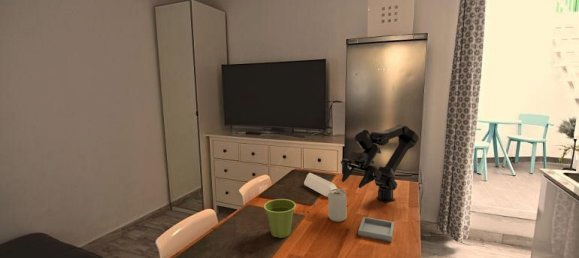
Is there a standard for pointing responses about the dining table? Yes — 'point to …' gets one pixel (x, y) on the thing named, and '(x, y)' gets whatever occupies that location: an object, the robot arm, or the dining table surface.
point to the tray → (376, 229)
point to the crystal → (319, 184)
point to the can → (337, 205)
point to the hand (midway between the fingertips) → (350, 184)
